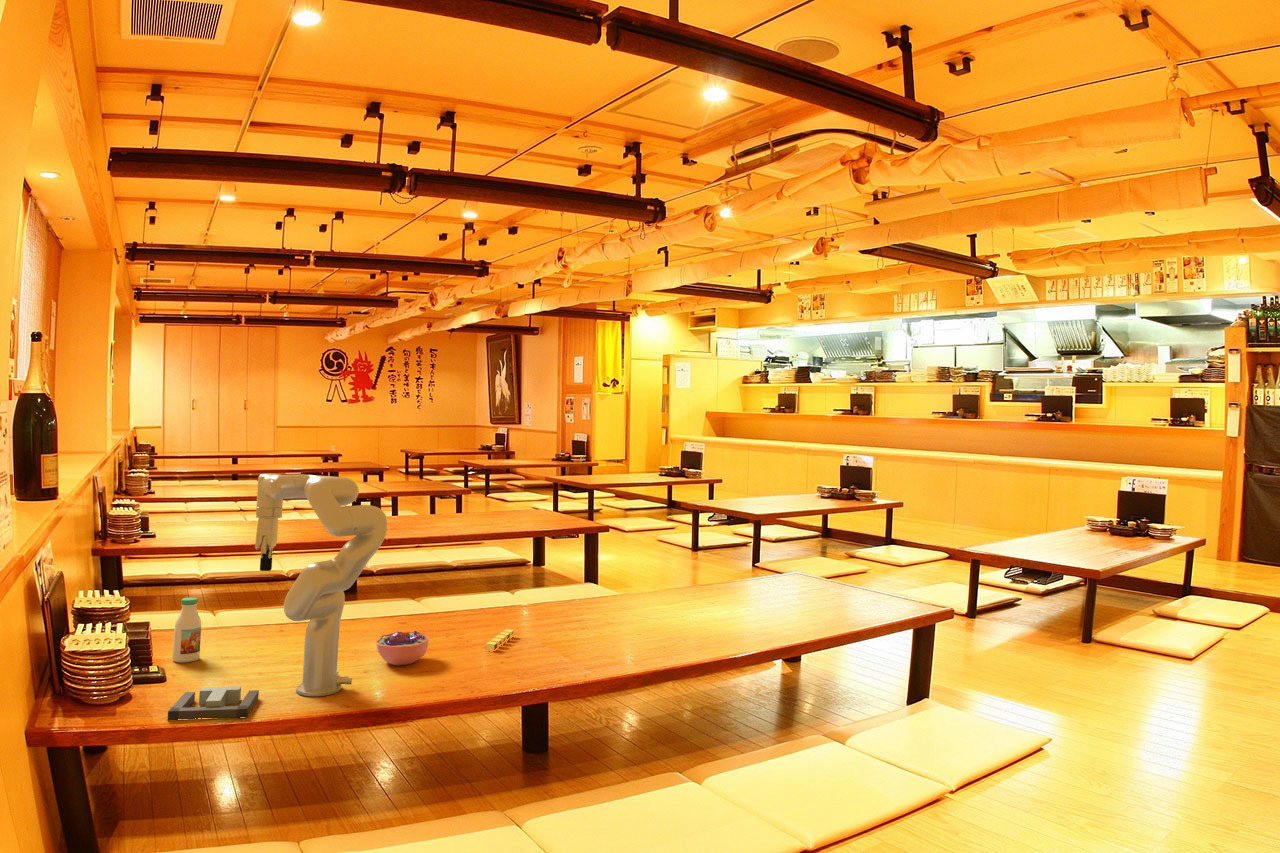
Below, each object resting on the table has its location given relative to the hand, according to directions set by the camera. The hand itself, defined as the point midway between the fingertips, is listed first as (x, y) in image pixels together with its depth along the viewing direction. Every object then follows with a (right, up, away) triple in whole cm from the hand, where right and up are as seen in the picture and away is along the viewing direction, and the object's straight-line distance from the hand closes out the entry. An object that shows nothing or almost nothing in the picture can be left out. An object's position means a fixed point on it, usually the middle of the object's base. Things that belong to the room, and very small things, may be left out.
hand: (265, 570), depth 256 cm
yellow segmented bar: (+68, -37, +48) cm, 91 cm away
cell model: (+38, -35, +17) cm, 54 cm away
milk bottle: (-30, -31, +8) cm, 44 cm away
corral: (+2, -32, -35) cm, 47 cm away
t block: (+2, -32, -33) cm, 46 cm away
